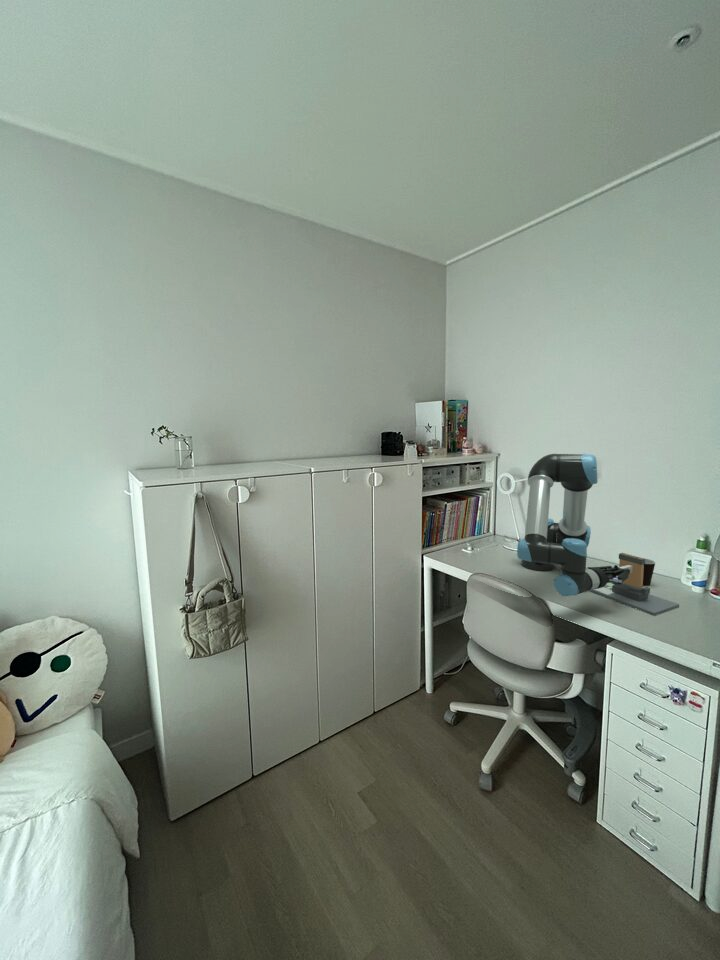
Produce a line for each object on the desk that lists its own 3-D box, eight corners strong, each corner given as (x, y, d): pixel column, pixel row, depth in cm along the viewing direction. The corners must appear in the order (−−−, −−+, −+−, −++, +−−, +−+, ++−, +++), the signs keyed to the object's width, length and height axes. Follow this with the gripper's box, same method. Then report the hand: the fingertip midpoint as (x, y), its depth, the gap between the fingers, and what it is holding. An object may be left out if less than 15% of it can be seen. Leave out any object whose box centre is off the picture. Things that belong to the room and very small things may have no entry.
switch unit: (584, 589, 161) (585, 575, 160) (608, 582, 168) (609, 569, 167) (654, 615, 138) (655, 599, 137) (679, 606, 144) (680, 591, 144)
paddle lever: (616, 584, 156) (618, 553, 154) (620, 582, 157) (621, 552, 155) (640, 592, 148) (642, 560, 146) (644, 591, 149) (646, 559, 147)
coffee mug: (657, 587, 162) (659, 564, 161) (634, 586, 164) (636, 563, 163) (643, 577, 173) (645, 555, 172) (622, 576, 175) (623, 554, 174)
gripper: (573, 582, 147) (613, 572, 156) (607, 595, 135) (648, 583, 145) (574, 563, 146) (614, 554, 156) (609, 574, 134) (649, 564, 144)
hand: (630, 568), depth 150 cm, fingers closed
